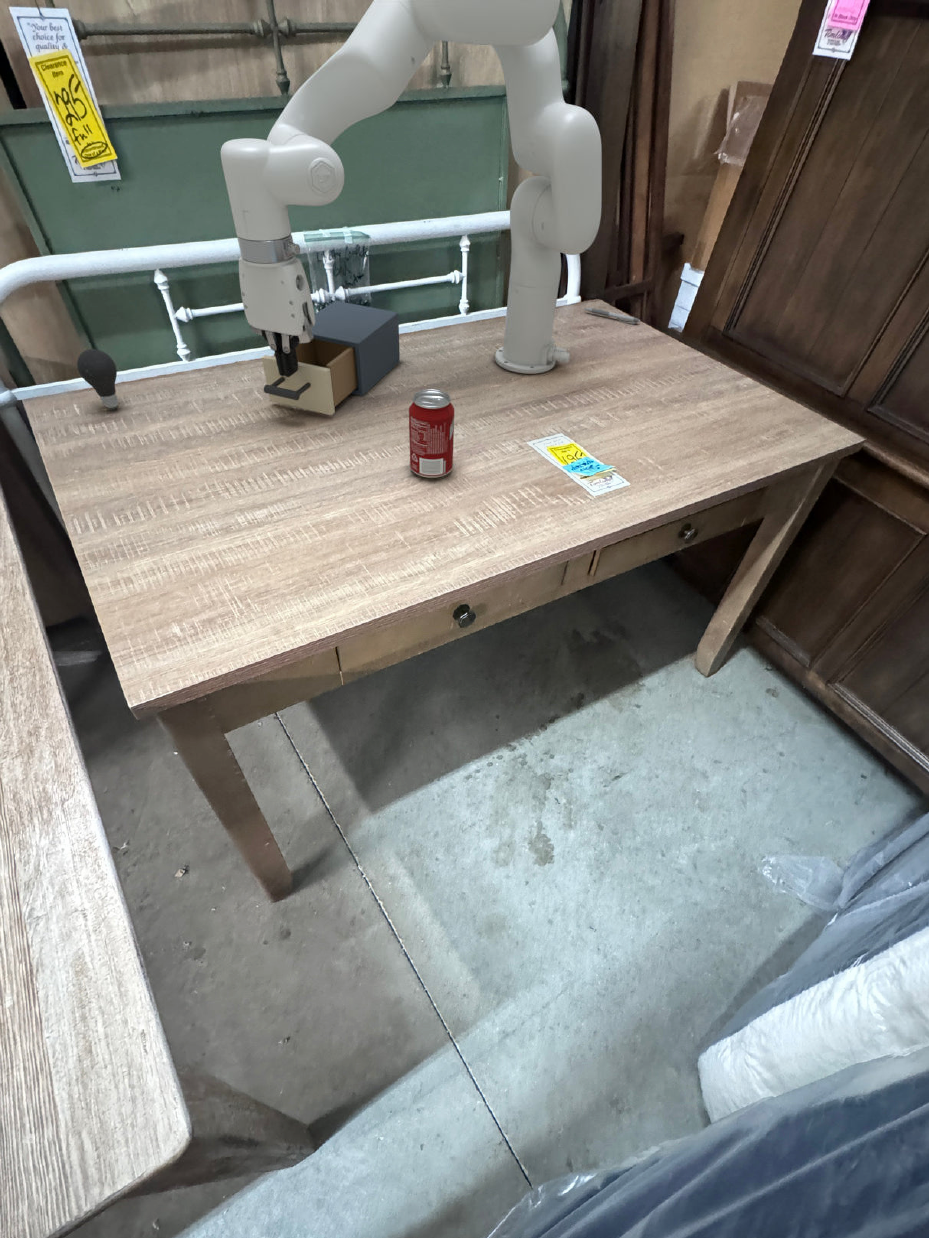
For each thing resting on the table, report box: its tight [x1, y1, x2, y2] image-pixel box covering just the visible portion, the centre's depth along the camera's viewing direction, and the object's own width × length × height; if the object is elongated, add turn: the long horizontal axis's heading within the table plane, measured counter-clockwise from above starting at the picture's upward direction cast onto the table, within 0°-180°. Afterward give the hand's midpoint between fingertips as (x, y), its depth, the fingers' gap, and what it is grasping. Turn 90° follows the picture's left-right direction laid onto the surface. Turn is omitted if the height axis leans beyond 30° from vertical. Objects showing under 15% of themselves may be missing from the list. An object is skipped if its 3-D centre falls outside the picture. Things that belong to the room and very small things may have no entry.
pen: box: [584, 307, 641, 325], centre depth 146 cm, size 1×14×1 cm, turn 63°
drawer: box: [261, 339, 358, 416], centre depth 108 cm, size 21×12×8 cm, turn 160°
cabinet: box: [310, 300, 401, 397], centre depth 117 cm, size 17×14×10 cm
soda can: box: [408, 388, 455, 479], centre depth 93 cm, size 7×7×12 cm
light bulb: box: [76, 348, 120, 410], centre depth 103 cm, size 6×6×10 cm
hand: (289, 372), depth 101 cm, fingers closed
